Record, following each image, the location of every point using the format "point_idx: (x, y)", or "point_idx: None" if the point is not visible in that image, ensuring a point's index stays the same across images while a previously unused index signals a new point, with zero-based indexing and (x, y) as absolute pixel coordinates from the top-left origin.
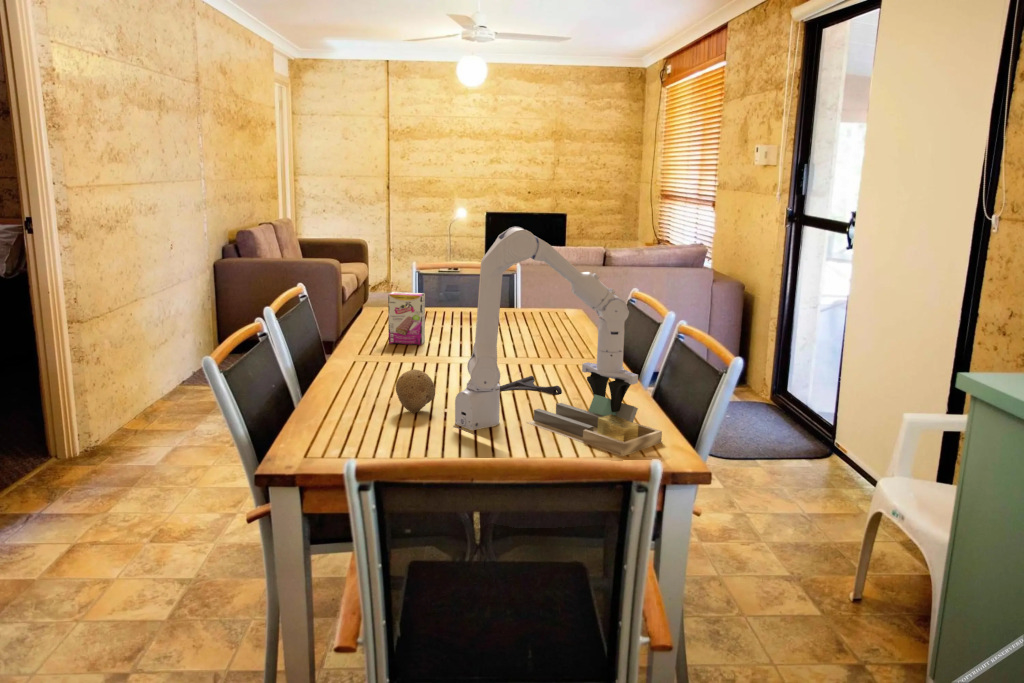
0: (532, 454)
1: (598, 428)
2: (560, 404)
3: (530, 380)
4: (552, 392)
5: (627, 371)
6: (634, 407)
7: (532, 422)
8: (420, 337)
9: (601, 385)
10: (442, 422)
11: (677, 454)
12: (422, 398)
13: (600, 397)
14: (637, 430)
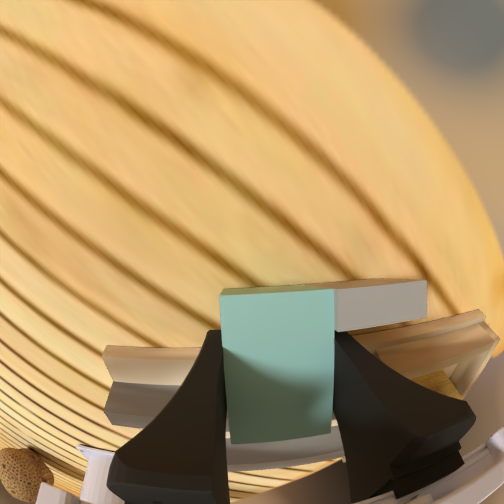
0: (288, 476)
1: None
2: (123, 422)
3: None
4: None
5: (476, 501)
6: (424, 312)
7: None
8: None
9: (221, 453)
10: (83, 467)
11: (500, 313)
12: (51, 484)
13: (277, 436)
14: (457, 393)
